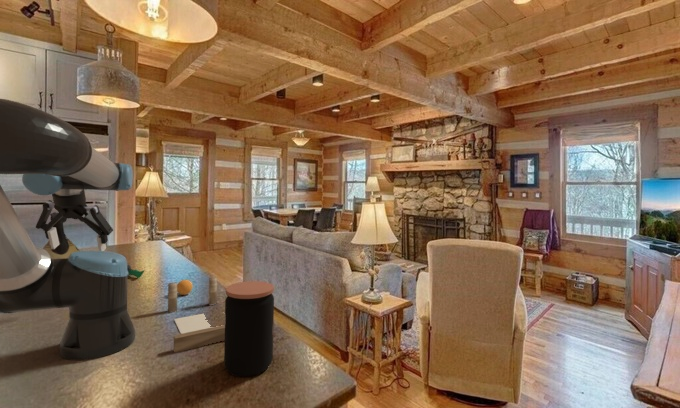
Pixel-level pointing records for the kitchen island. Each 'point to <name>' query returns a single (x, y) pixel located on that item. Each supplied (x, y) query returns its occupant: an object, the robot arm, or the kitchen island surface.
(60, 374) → the kitchen island surface
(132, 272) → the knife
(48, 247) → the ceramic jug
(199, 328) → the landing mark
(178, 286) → the ball
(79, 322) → the robot arm
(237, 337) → the coffee jar
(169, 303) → the post left
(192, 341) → the stopper wall
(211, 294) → the post right
